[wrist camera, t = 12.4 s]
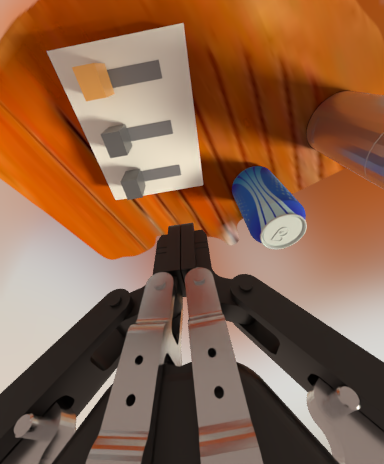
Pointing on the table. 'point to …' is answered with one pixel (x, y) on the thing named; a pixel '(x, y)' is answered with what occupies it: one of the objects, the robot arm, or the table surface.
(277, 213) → the beer can
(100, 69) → the block
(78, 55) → the breaker panel
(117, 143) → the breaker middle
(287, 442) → the robot arm
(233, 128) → the table surface
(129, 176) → the block
